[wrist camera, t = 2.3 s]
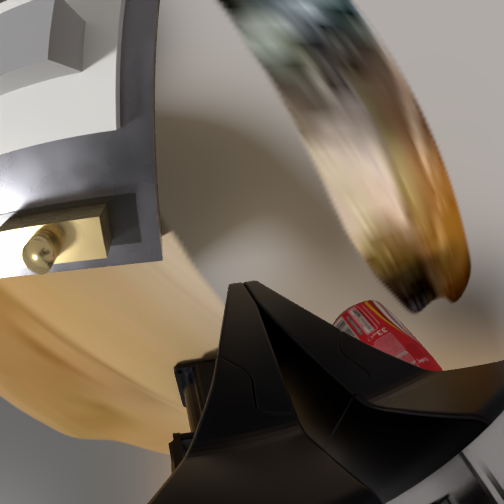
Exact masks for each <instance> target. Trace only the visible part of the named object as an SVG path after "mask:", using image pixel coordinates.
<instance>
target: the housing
mask: <svg viewBox="0 0 504 504" xmlns="http://www.w3.org/2000/svg"><path fill="white" fill-rule="evenodd" d="M4 1H7V0H0V3H2V2H4ZM159 3H160V0H126V1H125V9H124V18H123V29H122V42H121V61H120V128H119V129H117V130H112V131H105V132H99V133H93V134H87V135H81V136H75V137H70V138H65V139H60V140H55V141H51V142H46V143H42V144H38V145H34V146H30V147H26V148H22V149H18V150H15V151H11V152H8V153H4V154H1V155H0V226H1V225H2V224H3V223H4V222H5V221H6V220H7V219H11V218H16V217H21V216H27V215H32V214H38V213H44V212H50V211H56V210H62V209H68V208H75V207H82V206H89V205H96V204H104V203H106V205H107V212H108V219H109V225H110V231H111V237H112V243H111V246H110V250H109V253H108V256H107V258H102V259H93V260H84V261H76V262H67V263H58V264H53V266H52V267H51V269H50V270H49V271H48V272H47V273H50V272H60V271H69V270H78V269H88V268H97V267H106V266H116V265H125V264H134V263H144V262H153V261H162V260H163V257H162V232H161V222H160V211H159V200H158V185H157V170H156V147H155V62H156V41H157V26H158V14H159ZM32 274H36V273H33V272H32V271H30V270H29V269H28V268H27V267H24V268H16V269H7V270H5V269H4V266H3V263H2V260H1V257H0V278H4V277H13V276H23V275H32Z"/></svg>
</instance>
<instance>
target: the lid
mask: <svg viewBox="0 0 504 504" xmlns="http://www.w3.org/2000/svg"><path fill="white" fill-rule="evenodd" d="M125 1H126V0H7V1H4V2H2V3H0V155H1V154H4V153H8V152H11V151H15V150H18V149H22V148H26V147H30V146H34V145H38V144H42V143H46V142H51V141H55V140H60V139H65V138H70V137H75V136H81V135H87V134H93V133H99V132H105V131H112V130H117V129H119V128H120V61H121V42H122V29H123V18H124V9H125Z"/></svg>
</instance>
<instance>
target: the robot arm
mask: <svg viewBox="0 0 504 504" xmlns="http://www.w3.org/2000/svg"><path fill="white" fill-rule="evenodd" d="M174 373H175V377H176V381H177V385H178V389H179V392H180V396H181V400H182V403H183V406H184V407H186V408H187V414H188V419H189V424H190V429H191V432H190V433H181V434H180V433H173V441H172V442H170V443H169V449H170V455H171V463H172V464H171V465H172V466H171V467H172V474H171V475H170V477H169V478H168V479H167V481H166V482H165V483H164V484H163V485H162V487H161V488H160V489H159V490H158V492H157V493H156V494H155V495H154V496H153V498H152V499H151V500H150V501H149V502H148V504H504V360H503V361H499V362H494V363H489V364H484V365H478V366H473V367H467V368H461V369H455V370H447V371H432V370H427V369H423V368H420V367H418V366H415V365H413V364H411V363H408V362H406V361H404V360H401V359H399V358H397V357H394V356H392V355H390V354H388V353H385V352H383V351H381V350H379V349H377V348H374V347H372V346H370V345H368V344H366V343H364V342H362V341H360V340H359V339H357V338H355V337H353V336H351V335H349V334H348V333H346V332H344V331H341V330H340V329H339V328H337V327H335V326H333V325H331V324H330V323H328V322H326V321H325V320H323V319H321V318H319V317H318V316H316V315H314V314H312V313H311V312H309V311H307V310H305V309H304V308H302V307H300V306H299V305H297V304H295V303H294V302H292V301H290V300H288V299H286V298H285V297H283V296H281V295H280V294H278V293H276V292H275V291H273V290H271V289H270V288H268V287H266V286H265V285H263V284H261V283H259V282H258V281H249V282H244V283H233V284H229V286H228V292H227V298H226V304H225V310H224V316H223V322H222V328H221V334H220V341H219V347H218V353H217V358H216V360H210V361H204V362H197V363H189V364H181V365H176V366H175V367H174Z"/></svg>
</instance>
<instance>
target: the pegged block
mask: <svg viewBox="0 0 504 504" xmlns="http://www.w3.org/2000/svg"><path fill="white" fill-rule="evenodd" d="M111 243H112V237H111V231H110V225H109V219H108V212H107V205H106V203H104V204H96V205H89V206H82V207H75V208H68V209H62V210H56V211H50V212H44V213H38V214H32V215H27V216H21V217H16V218H11V219H7V220H6V221H5V222H4V223H3V224H2V225H1V226H0V257H1V260H2V263H3V266H4V269H5V270H7V269H16V268H24V267H27V268H28V269H29V270H30V271H32V272H33V273H36V274H45V273H47V272H48V271H49V270H50V269H51V267H52V266H53V264H58V263H67V262H76V261H84V260H93V259H102V258H107V256H108V253H109V250H110V246H111Z"/></svg>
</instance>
